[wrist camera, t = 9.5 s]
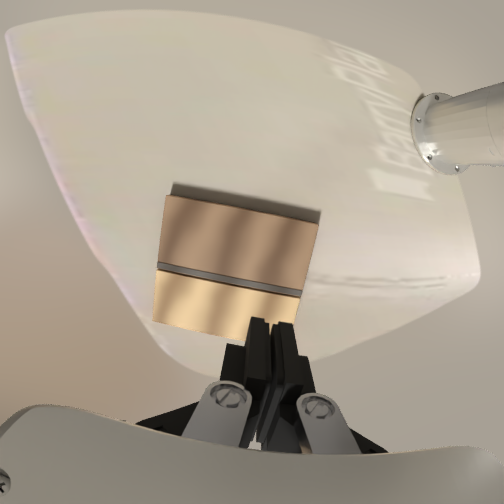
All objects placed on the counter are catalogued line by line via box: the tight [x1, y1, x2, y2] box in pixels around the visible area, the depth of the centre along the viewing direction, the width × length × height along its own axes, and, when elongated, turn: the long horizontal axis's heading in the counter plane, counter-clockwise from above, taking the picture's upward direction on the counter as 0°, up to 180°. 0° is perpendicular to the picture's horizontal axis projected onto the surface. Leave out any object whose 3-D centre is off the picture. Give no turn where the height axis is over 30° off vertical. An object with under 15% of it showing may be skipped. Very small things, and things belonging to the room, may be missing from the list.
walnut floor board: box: [157, 195, 319, 297], centre depth 40 cm, size 20×10×2 cm, turn 79°
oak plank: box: [152, 268, 300, 341], centre depth 42 cm, size 20×8×2 cm, turn 79°
